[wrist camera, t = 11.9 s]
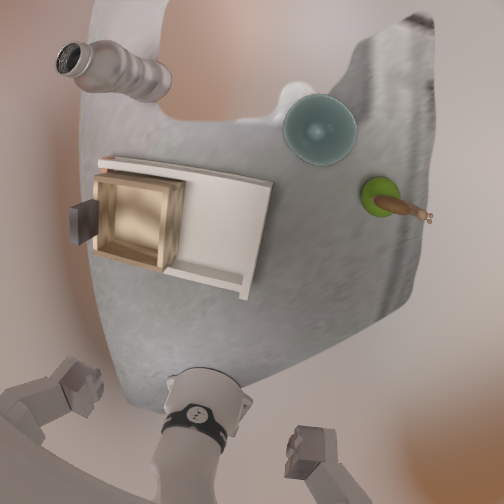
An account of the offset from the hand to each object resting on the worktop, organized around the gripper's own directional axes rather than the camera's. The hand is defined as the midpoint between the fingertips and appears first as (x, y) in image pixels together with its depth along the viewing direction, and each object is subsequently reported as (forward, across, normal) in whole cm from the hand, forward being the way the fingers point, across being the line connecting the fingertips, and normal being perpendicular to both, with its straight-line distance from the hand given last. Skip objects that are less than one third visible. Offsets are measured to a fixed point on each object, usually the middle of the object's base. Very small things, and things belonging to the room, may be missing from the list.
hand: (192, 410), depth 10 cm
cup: (+34, -4, -12) cm, 37 cm away
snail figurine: (+34, -15, -6) cm, 38 cm away
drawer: (+33, +18, +4) cm, 38 cm away
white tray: (+34, +13, +4) cm, 37 cm away
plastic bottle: (+34, +20, -16) cm, 43 cm away
